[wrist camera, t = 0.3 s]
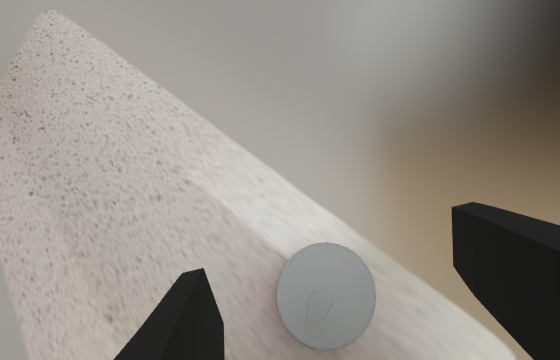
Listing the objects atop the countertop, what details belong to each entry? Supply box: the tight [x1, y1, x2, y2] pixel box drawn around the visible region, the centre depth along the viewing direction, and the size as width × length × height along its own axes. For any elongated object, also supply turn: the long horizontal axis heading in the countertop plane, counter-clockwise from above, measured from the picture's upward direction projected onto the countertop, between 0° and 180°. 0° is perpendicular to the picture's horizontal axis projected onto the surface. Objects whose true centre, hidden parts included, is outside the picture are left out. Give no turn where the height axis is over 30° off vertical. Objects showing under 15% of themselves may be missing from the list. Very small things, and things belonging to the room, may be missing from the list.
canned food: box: [276, 243, 376, 350], centre depth 31 cm, size 8×8×11 cm
